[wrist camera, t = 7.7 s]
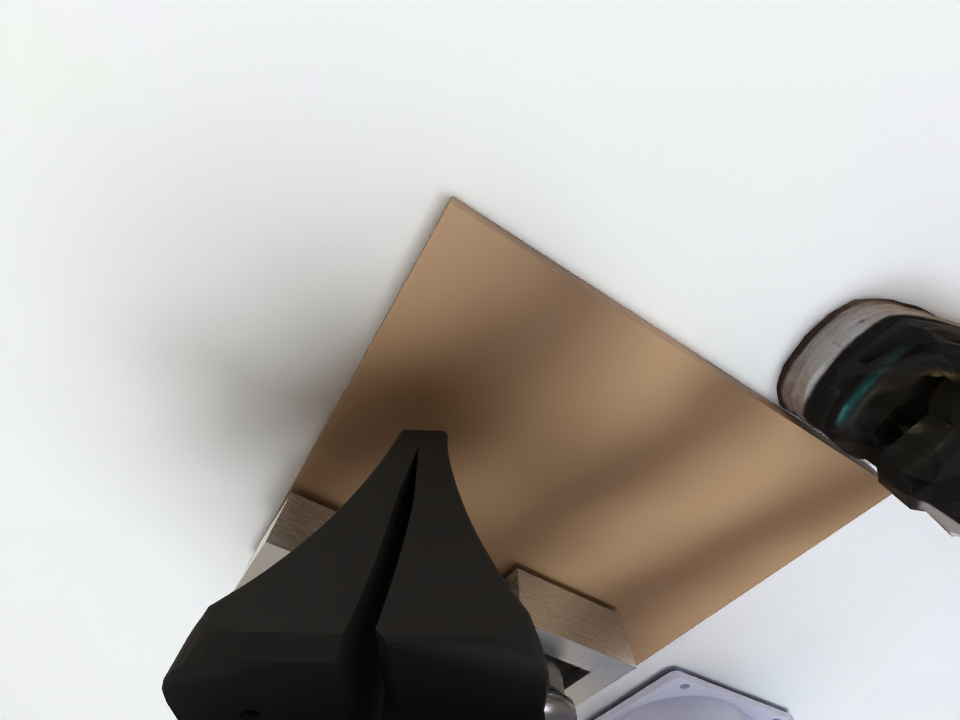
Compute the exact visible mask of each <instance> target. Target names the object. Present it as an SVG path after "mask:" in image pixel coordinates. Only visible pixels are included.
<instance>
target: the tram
mask: <svg viewBox="0 0 960 720" xmlns="http://www.w3.org/2000/svg"><path fill="white" fill-rule="evenodd" d="M777 395H778V400H779V403H780V404H781V406H782V407H783V408H785V409H786V410H788V411H790V412H792V413H793V414H795V415H797V416H799V417H800V418H801V419H802V420H803V421H804V422H805V423H806V424H807V425H808V426H810V427H812V428H814V429H817V430H818V431H820V432H821V433H823V434H825V435H826V436H827V437H828V438H829V439H830V440H831V441H832V442H833V443H834V444H836V445H837V446H838V447H839V448H840V449H841V450H842V451H843V452H845V453H847V454H849V455H850V456H852V457H854V458H856V459H866V460H868V461H869V462H870V463H872V464H873V465H874V466H876V467H877V472H878V481H879V483H880V484H881V485H883V486H884V487H885V488H886V489H887V490H888V491H890V492H891V493H892V494H893V495H894V496H896V497H897V498H898V499H899V500H900V501H901V502H903V503H904V504H905V505H906V506H907V507H909V508H910V509H912V510H919V511H926V512H927V513H928V514H929V515H930V516H931V517H932V518H933V519H934V520H935V521H936V522H937V523H939V524H940V525H941V526H942V527H943V528H944V529H945V530H946V531H947V532H948V533H949V534H950V535H951V536H960V324H958V323H954V322H951V321H947V320H944V319H940V318H938V317H936V316H934V315H933V314H931V313H930V312H928V311H926V310H924V309H922V308H919V307H917V306H914V305H910V304H906V303H901V302H898V301H894V300H884V299H878V300H855V301H852V302H849V303H848V304H846V305H844V306H842V307H841V308H839V309H837V310H836V311H834V312H833V313H831V314H830V315H829V316H828V317H826V318H825V319H824V320H823V321H821V322H820V323H819V324H818V325H817V326H815V327H814V328H813V329H812V330H811V331H810V332H809V333H808V334H807V335H806V336H805V337H804V339H803V340H802V342H801V343H800V344H799V346H798V347H797V348H796V350H795V351H794V352H793V354H792V355H791V357H790V358H789V360H788V361H787V362H786V364H785V365H784V368H783V371H782V374H781V377H780V380H779V383H778V386H777Z"/></svg>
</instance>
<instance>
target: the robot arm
mask: <svg viewBox="0 0 960 720" xmlns="http://www.w3.org/2000/svg"><path fill="white" fill-rule="evenodd" d="M548 690H549V671H548V666H547V662H546V658H545V654H544V651H543V648H542V645H541V642H540V639H539V637H538V634H537V631H536V629H535V626H534V624H533V621H532V619H531V616H530V614H529V612H528V611H527V609H526V608H525V607H524V606H523V604H522V603H521V602H520V600H519V599H518V598H517V596H516V595H515V594H514V592H513V591H512V590H511V588H510V587H509V585H508V584H507V583H506V581H505V580H504V578H503V577H502V575H501V574H500V572H499V571H498V569H497V568H496V566H495V564H494V563H493V561H492V559H491V558H490V556H489V554H488V553H487V551H486V549H485V548H484V546H483V544H482V542H481V540H480V539H479V537H478V535H477V533H476V531H475V529H474V527H473V525H472V523H471V520H470V518H469V516H468V514H467V512H466V509H465V507H464V504H463V502H462V499H461V496H460V494H459V491H458V488H457V485H456V482H455V479H454V475H453V472H452V468H451V464H450V459H449V454H448V434H447V433H446V432H445V431H433V430H403V431H401V432H400V433H399V435H398V437H397V438H396V440H395V441H394V443H393V444H392V446H391V447H390V449H389V450H388V452H387V453H386V454H385V456H384V457H383V458H382V460H381V461H380V462H379V464H378V465H377V466H376V468H375V469H374V470H373V471H372V473H371V474H370V475H369V476H368V478H367V479H366V480H365V481H364V482H363V484H362V485H361V486H360V487H359V488H358V489H357V490H356V491H355V493H354V494H353V495H352V496H351V497H350V498H349V499H348V500H347V501H346V503H345V504H344V505H343V506H342V507H341V508H340V509H339V510H338V511H337V512H336V513H335V514H334V515H333V516H332V517H331V518H329V519H328V520H327V521H326V522H325V523H324V524H323V525H322V526H321V527H320V528H319V529H317V530H316V531H315V532H314V533H313V534H312V535H311V536H309V537H308V538H307V539H306V540H305V541H304V542H302V543H301V544H300V545H299V546H298V547H296V548H295V549H294V550H293V551H291V552H290V553H289V554H287V555H286V556H285V557H283V558H282V559H280V560H279V561H278V562H276V563H275V564H274V565H272V566H271V567H270V568H268V569H267V570H266V571H264V572H263V573H261V574H260V575H258V576H257V577H255V578H254V579H252V580H251V581H249V582H248V583H246V584H245V585H243V586H241V587H240V588H238V589H237V590H235V591H233V592H232V593H230V594H229V595H227V596H225V597H224V598H222V599H221V600H219V601H217V602H216V603H214V604H212V605H211V606H209V607H208V609H207V610H206V612H205V613H204V615H203V616H202V617H201V619H200V620H199V621H198V623H197V624H196V626H195V627H194V629H193V630H192V632H191V633H190V635H189V636H188V638H187V640H186V642H185V643H184V645H183V647H182V648H181V650H180V652H179V654H178V655H177V657H176V659H175V660H174V662H173V664H172V666H171V667H170V669H169V671H168V673H167V674H166V676H165V678H164V680H163V685H162V691H163V694H164V697H165V699H166V702H167V704H168V705H169V707H170V708H171V710H172V711H173V713H174V715H175V716H176V718H177V719H178V720H545V712H544V709H545V705H546V700H547V695H548ZM595 720H794V718H793V716H792V715H791V714H789V713H786V712H784V711H781V710H779V709H776V708H774V707H771V706H768V705H766V704H763V703H761V702H758V701H756V700H753V699H750V698H748V697H745V696H743V695H740V694H737V693H735V692H732V691H730V690H727V689H725V688H722V687H719V686H717V685H714V684H712V683H709V682H707V681H704V680H701V679H699V678H696V677H694V676H691V675H689V674H686V673H683V672H681V671H672V672H669V673H667V674H666V675H664V676H663V677H661V678H659V679H658V680H656V681H655V682H653V683H652V684H650V685H648V686H647V687H645V688H644V689H642V690H641V691H639V692H637V693H636V694H634V695H633V696H631V697H629V698H628V699H626V700H625V701H623V702H622V703H620V704H618V705H617V706H615V707H614V708H612V709H611V710H609V711H607V712H606V713H604V714H603V715H601V716H599V717H598V718H596V719H595Z"/></svg>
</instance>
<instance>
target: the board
mask: <svg viewBox="0 0 960 720" xmlns="http://www.w3.org/2000/svg"><path fill="white" fill-rule="evenodd" d="M403 430H433V431H445V432H446V433H447V434H448V454H449V459H450V464H451V468H452V472H453V475H454V479H455V482H456V485H457V488H458V491H459V494H460V496H461V499H462V502H463V504H464V507H465V509H466V512H467V514H468V516H469V518H470V520H471V523H472V525H473V527H474V529H475V531H476V533H477V535H478V537H479V539H480V540H481V542H482V544H483V546H484V548H485V549H486V551H487V553H488V554H489V556H490V558H491V559H492V561H493V563H494V564H495V566H496V568H497V569H498V571H499V572H500V574H501V575H502V577H503V578H504V580H505V579H506V578H507V577H508V576H509V575H510V574H511V573H513V572H514V571H515V570H516V569H517V568H518V569H520V570H523V571H525V572H527V573H529V574H531V575H534V576H536V577H538V578H540V579H543V580H545V581H547V582H549V583H551V584H554V585H556V586H558V587H560V588H563V589H565V590H567V591H569V592H572V593H574V594H576V595H578V596H580V597H583V598H585V599H587V600H589V601H592V602H594V603H596V604H598V605H600V606H603V607H605V608H607V609H609V610H612V611H614V612H616V613H618V614H620V615H621V616H622V619H623V623H624V626H625V630H626V633H627V637H628V640H629V644H630V647H631V651H632V654H633V658H634V661H635V665H636V666H637V665H638V664H640V663H641V662H643V661H644V660H646V659H647V658H649V657H650V656H652V655H653V654H655V653H656V652H657V651H659V650H660V649H662V648H663V647H665V646H666V645H668V644H669V643H671V642H672V641H674V640H675V639H677V638H678V637H680V636H681V635H683V634H684V633H686V632H687V631H689V630H690V629H692V628H693V627H695V626H696V625H698V624H699V623H701V622H702V621H704V620H705V619H707V618H708V617H710V616H711V615H713V614H714V613H716V612H717V611H718V610H720V609H721V608H723V607H724V606H726V605H727V604H729V603H730V602H732V601H733V600H735V599H736V598H738V597H739V596H741V595H742V594H744V593H745V592H747V591H748V590H750V589H751V588H753V587H754V586H756V585H757V584H759V583H760V582H762V581H763V580H765V579H766V578H768V577H769V576H771V575H772V574H774V573H775V572H777V571H778V570H779V569H781V568H782V567H784V566H785V565H787V564H788V563H790V562H791V561H793V560H794V559H796V558H797V557H799V556H800V555H802V554H803V553H805V552H806V551H808V550H809V549H811V548H812V547H814V546H815V545H817V544H818V543H820V542H821V541H823V540H824V539H826V538H827V537H829V536H830V535H832V534H833V533H835V532H836V531H837V530H839V529H840V528H842V527H843V526H845V525H846V524H848V523H849V522H851V521H852V520H854V519H855V518H857V517H858V516H860V515H861V514H863V513H864V512H866V511H867V510H869V509H870V508H872V507H873V506H875V505H876V504H878V503H879V502H881V501H882V500H884V499H885V498H887V497H888V496H890V495H891V494H892V493H891V492H890V491H888V490H887V489H886V488H885V487H884V486H883V485H881V484H880V483H879V481H878V473H877V472H876V471H875V470H874V469H873V468H872V467H871V466H869V465H868V464H866V463H865V462H863V461H861V460H860V459H856V458H854V457H852V456H850V455H849V454H847V453H845V452H843V451H842V450H841V449H840V448H839V447H838V446H837V445H836V444H834V443H833V442H832V441H831V440H829V439H827V438H826V437H824V436H823V435H821V434H820V433H818V432H817V431H815V430H814V429H812V428H810V427H809V426H807V425H806V424H804V423H803V422H801V421H800V420H798V419H796V418H795V417H793V416H792V415H790V414H789V413H787V412H786V411H784V410H783V409H781V408H779V407H778V406H776V405H775V404H773V403H772V402H770V401H769V400H767V399H766V398H764V397H762V396H761V395H759V394H758V393H756V392H755V391H753V390H752V389H750V388H749V387H747V386H745V385H744V384H742V383H741V382H739V381H738V380H736V379H735V378H733V377H732V376H730V375H728V374H727V373H725V372H724V371H722V370H721V369H719V368H718V367H716V366H715V365H713V364H711V363H710V362H708V361H707V360H705V359H704V358H702V357H701V356H699V355H698V354H696V353H694V352H693V351H691V350H690V349H688V348H687V347H685V346H684V345H682V344H680V343H679V342H677V341H676V340H674V339H673V338H671V337H670V336H668V335H667V334H665V333H663V332H662V331H660V330H659V329H657V328H656V327H654V326H653V325H651V324H650V323H648V322H646V321H645V320H643V319H642V318H640V317H639V316H637V315H636V314H634V313H633V312H631V311H629V310H628V309H626V308H625V307H623V306H622V305H620V304H619V303H617V302H616V301H614V300H612V299H611V298H609V297H608V296H606V295H605V294H603V293H602V292H600V291H599V290H597V289H595V288H594V287H592V286H591V285H589V284H588V283H586V282H585V281H583V280H582V279H580V278H578V277H577V276H575V275H574V274H572V273H571V272H569V271H568V270H566V269H565V268H563V267H561V266H560V265H558V264H557V263H555V262H554V261H552V260H551V259H549V258H547V257H546V256H544V255H543V254H541V253H540V252H538V251H537V250H535V249H534V248H532V247H530V246H529V245H527V244H526V243H524V242H523V241H521V240H520V239H518V238H517V237H515V236H513V235H512V234H510V233H509V232H507V231H506V230H504V229H503V228H501V227H500V226H498V225H496V224H495V223H493V222H492V221H490V220H489V219H487V218H486V217H484V216H483V215H481V214H479V213H478V212H476V211H475V210H473V209H472V208H470V207H469V206H467V205H466V204H464V203H462V202H461V201H459V200H458V199H456V198H455V197H452V198H451V200H450V202H449V204H448V206H447V207H446V209H445V211H444V213H443V215H442V216H441V218H440V220H439V222H438V224H437V225H436V227H435V229H434V231H433V233H432V234H431V236H430V238H429V240H428V242H427V243H426V245H425V247H424V249H423V251H422V253H421V254H420V256H419V258H418V260H417V262H416V263H415V265H414V267H413V269H412V271H411V272H410V274H409V276H408V278H407V280H406V281H405V283H404V285H403V287H402V289H401V290H400V292H399V294H398V296H397V298H396V299H395V301H394V303H393V305H392V307H391V308H390V310H389V312H388V314H387V316H386V317H385V319H384V321H383V323H382V325H381V327H380V328H379V330H378V332H377V334H376V336H375V337H374V339H373V341H372V343H371V345H370V346H369V348H368V350H367V352H366V354H365V355H364V357H363V359H362V361H361V363H360V364H359V366H358V368H357V370H356V372H355V373H354V375H353V377H352V379H351V381H350V382H349V384H348V386H347V388H346V390H345V391H344V393H343V395H342V397H341V399H340V401H339V402H338V404H337V406H336V408H335V410H334V411H333V413H332V415H331V417H330V419H329V420H328V422H327V424H326V426H325V428H324V429H323V431H322V433H321V435H320V437H319V438H318V440H317V442H316V444H315V446H314V447H313V449H312V451H311V453H310V455H309V456H308V458H307V460H306V462H305V464H304V465H303V467H302V469H301V471H300V473H299V475H298V476H297V478H296V480H295V482H294V484H293V485H292V487H291V489H290V491H289V493H288V494H287V496H286V498H285V500H284V502H283V503H282V505H281V507H280V509H279V511H280V510H281V508H282V507H283V505H284V503H285V502H286V500H287V499H288V497H289V495H290V494H291V492H292V493H294V494H297V495H299V496H301V497H303V498H306V499H308V500H310V501H313V502H315V503H317V504H320V505H322V506H324V507H327V508H329V509H331V510H333V511H336V512H337V511H338V510H339V509H340V508H341V507H342V506H343V505H344V504H345V503H346V501H347V500H348V499H349V498H350V497H351V496H352V495H353V494H354V493H355V491H356V490H357V489H358V488H359V487H360V486H361V485H362V484H363V482H364V481H365V480H366V479H367V478H368V476H369V475H370V474H371V473H372V471H373V470H374V469H375V468H376V466H377V465H378V464H379V462H380V461H381V460H382V458H383V457H384V456H385V454H386V453H387V452H388V450H389V449H390V447H391V446H392V444H393V443H394V441H395V440H396V438H397V437H398V435H399V433H400V432H401V431H403ZM279 511H278V512H277V514H276V516H277V515H278V513H279ZM276 516H275V518H276ZM275 518H274V519H275ZM273 521H274V520H273ZM273 521H272V523H273ZM272 523H271V524H272ZM270 526H271V525H270ZM267 531H268V530H267Z"/></svg>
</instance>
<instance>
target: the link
mask: <svg viewBox="0 0 960 720" xmlns="http://www.w3.org/2000/svg"><path fill="white" fill-rule="evenodd" d="M335 513H336V511H333V510H331V509H329V508H327V507H324V506H322V505H320V504H317V503H315V502H313V501H310V500H308V499H306V498H303V497H301V496H299V495H297V494H294V493H292V492H291V494H290V495H289V497H288V499H287V500H286V502H285V503H284V505H283V507H282V508H281V510H280V511H279V513H278V515H277V516H276V518H275V519H274V521H273V523H272V524H271V526H270V527H269V529H268V531H267V532H266V534H265V535H264V537H263V539H262V540H261V542H260V543H259V545H258V547H257V549H256V551H255V552H254V554H253V556H252V558H251V560H250V562H249V564H248V565H247V567H246V569H245V571H244V573H243V575H242V577H241V578H240V580H239V582H238V584H237V586H236V588H235V590H237V589H238V588H240V587H241V586H243V585H245V584H246V583H248V582H249V581H251V580H252V579H254V578H255V577H257V576H258V575H260V574H261V573H263V572H264V571H266V570H267V569H268V568H270V567H271V566H272V565H274V564H275V563H276V562H278V561H279V560H280V559H282V558H283V557H285V556H286V555H287V554H289V553H290V552H291V551H293V550H294V549H295V548H296V547H298V546H299V545H300V544H301V543H302V542H304V541H305V540H306V539H307V538H308V537H309V536H311V535H312V534H313V533H314V532H315V531H316V530H317V529H319V528H320V527H321V526H322V525H323V524H324V523H325V522H326V521H327V520H328V519H329V518H331V517H332V516H333V515H334V514H335ZM505 581H506V583H507V584H508V585H509V587H510V588H511V590H512V591H513V592H514V594H515V595H516V596H517V598H518V599H519V600H520V602H521V603H522V604H523V606H524V607H525V608H526V609H527V611H528V612H529V614H530V616H531V619H532V621H533V624H534V626H535V629H536V631H537V634H538V637H539V639H540V642H541V645H542V648H543V651H544V654H546V655H549V656H552V657H554V658H557V659H559V660H560V665H561V672H562V679H563V685H564V692H565V695H566V696H568V697H569V698H571V699H572V700H573V702H574V704H575V706H576V705H578V704H580V703H581V702H583V701H584V700H586V699H587V698H589V697H591V696H592V695H594V694H595V693H597V692H599V691H600V690H602V689H603V688H605V687H607V686H608V685H610V684H611V683H613V682H614V681H616V680H618V679H619V678H621V677H622V676H624V675H626V674H627V673H629V672H630V671H632V670H633V669H635V668H636V665H635V661H634V658H633V654H632V651H631V647H630V644H629V640H628V637H627V633H626V630H625V626H624V623H623V619H622V616H621V615H620V614H618V613H616V612H614V611H612V610H609V609H607V608H605V607H603V606H600V605H598V604H596V603H594V602H592V601H589V600H587V599H585V598H583V597H580V596H578V595H576V594H574V593H572V592H569V591H567V590H565V589H563V588H560V587H558V586H556V585H554V584H551V583H549V582H547V581H545V580H543V579H540V578H538V577H536V576H534V575H531V574H529V573H527V572H525V571H523V570H520V569H518V568H517V569H516V570H515V571H514V572H513V573H511V574H510V575H509V576H508V577H507V578H506V579H505ZM235 590H234V591H235Z"/></svg>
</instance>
